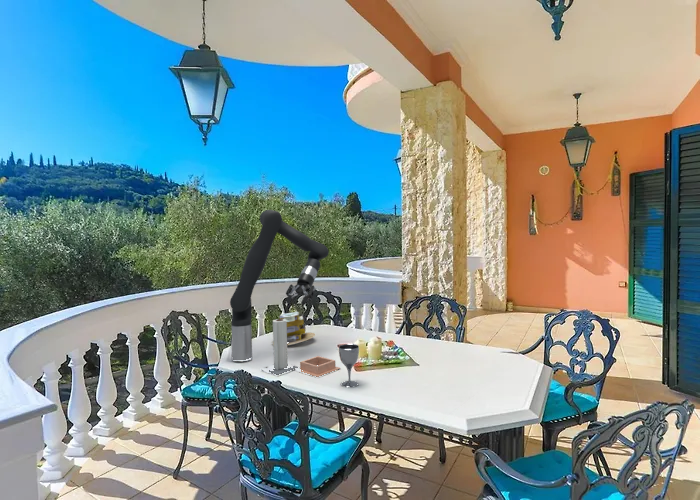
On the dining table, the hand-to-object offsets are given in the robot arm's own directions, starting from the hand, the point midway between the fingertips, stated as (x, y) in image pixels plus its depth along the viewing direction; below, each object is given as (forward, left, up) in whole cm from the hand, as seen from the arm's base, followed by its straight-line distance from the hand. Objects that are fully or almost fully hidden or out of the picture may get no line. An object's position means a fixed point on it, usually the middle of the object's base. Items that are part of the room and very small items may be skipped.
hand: (294, 303), depth 186 cm
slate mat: (+3, -12, -28) cm, 30 cm away
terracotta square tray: (+17, -2, -28) cm, 33 cm away
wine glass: (+39, -6, -28) cm, 48 cm away
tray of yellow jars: (-29, +23, -28) cm, 46 cm away
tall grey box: (+3, -12, -27) cm, 30 cm away
